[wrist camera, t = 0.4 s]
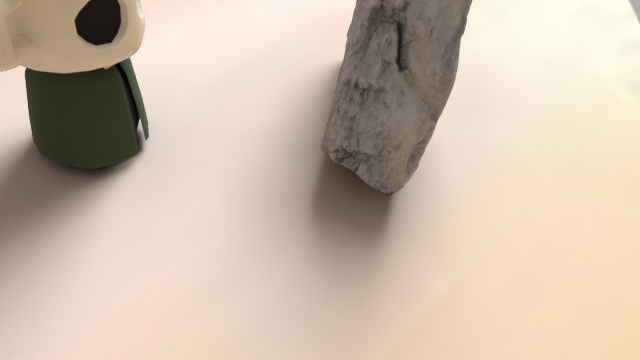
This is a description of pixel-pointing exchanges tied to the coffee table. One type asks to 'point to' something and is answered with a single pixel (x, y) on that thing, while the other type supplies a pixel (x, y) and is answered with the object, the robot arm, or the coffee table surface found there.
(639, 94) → the coffee table surface
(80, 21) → the character mug
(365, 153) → the decorative rock
